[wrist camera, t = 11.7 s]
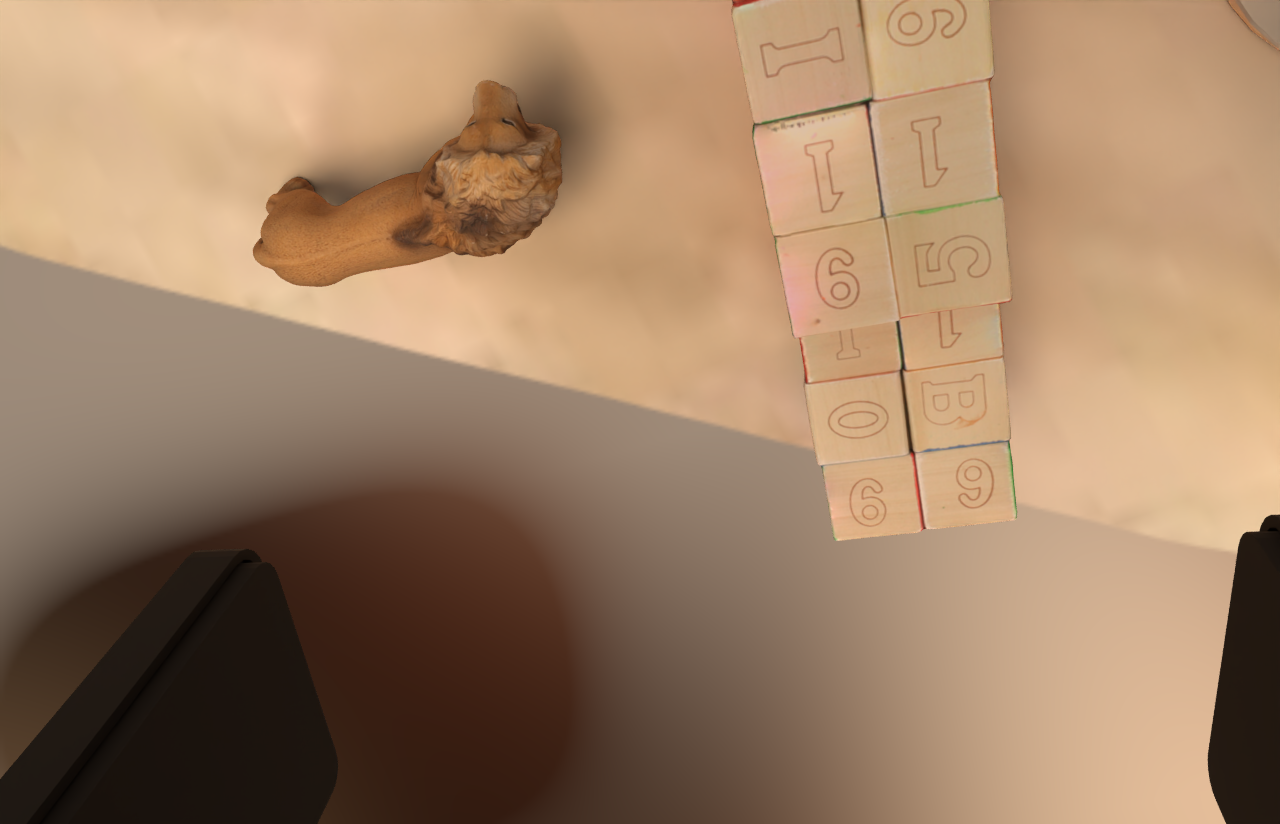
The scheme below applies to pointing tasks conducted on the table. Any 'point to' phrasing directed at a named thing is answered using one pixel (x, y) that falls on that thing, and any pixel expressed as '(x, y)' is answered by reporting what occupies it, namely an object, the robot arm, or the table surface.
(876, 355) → the stack of blocks
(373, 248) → the lion figurine
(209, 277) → the table surface
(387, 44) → the table surface
